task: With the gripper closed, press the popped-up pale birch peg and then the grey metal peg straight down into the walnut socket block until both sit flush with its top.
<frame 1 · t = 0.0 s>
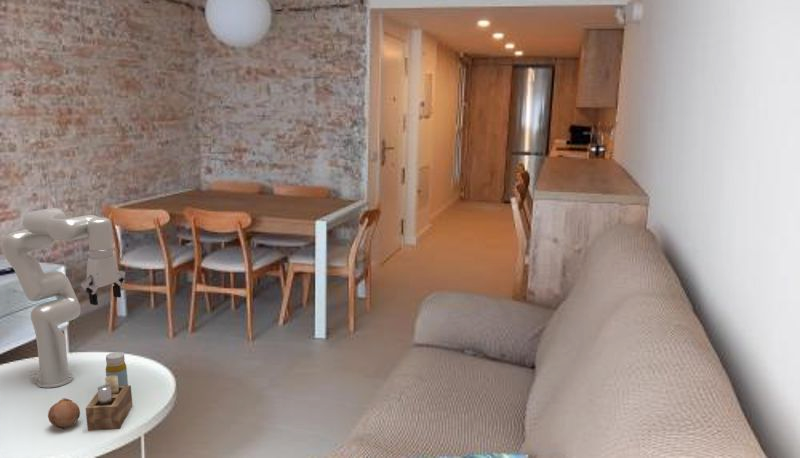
hand: (105, 300, 228), 37 cm above the table, tool pointing down, fingers open, 9 cm apart
peg birch: (112, 387, 223), point 9 cm above the table, slide at 5.0 cm
peg metal: (105, 398, 215), point 9 cm above the table, slide at 5.0 cm
onion: (65, 426, 215), on the table
socket block: (111, 418, 221), on the table
bottle: (118, 393, 239), on the table
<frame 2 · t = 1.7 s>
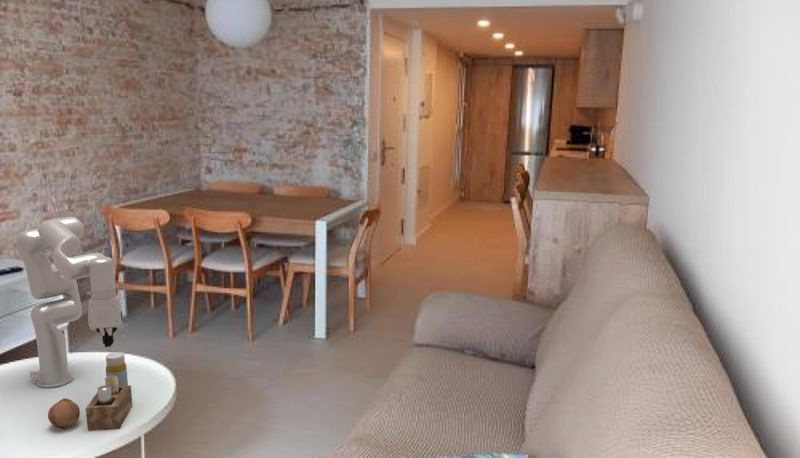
hand: (108, 345, 220), 25 cm above the table, tool pointing down, fingers closed
nothing on the table moved.
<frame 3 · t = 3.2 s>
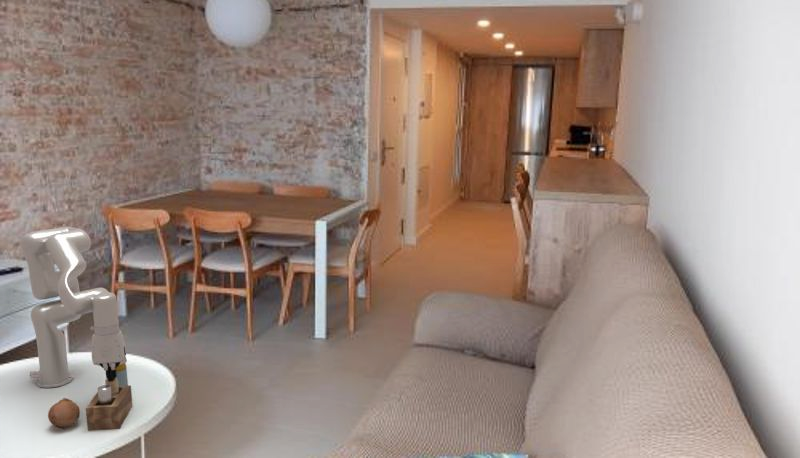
hand: (111, 379, 222), 12 cm above the table, tool pointing down, fingers closed
peg birch: (112, 389, 223), point 8 cm above the table, slide at 4.2 cm, touching gripper
everything else where it was.
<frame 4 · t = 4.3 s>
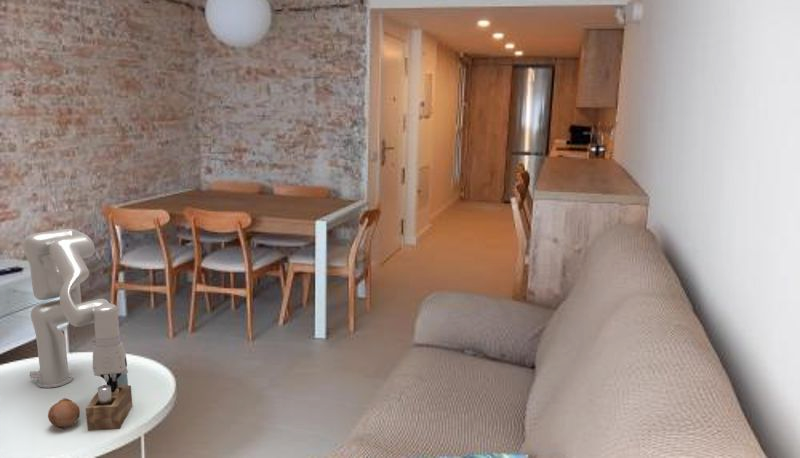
hand: (112, 390, 223), 8 cm above the table, tool pointing down, fingers closed
peg birch: (113, 400, 224), point 4 cm above the table, slide at 0.2 cm, touching gripper
everything else where it was.
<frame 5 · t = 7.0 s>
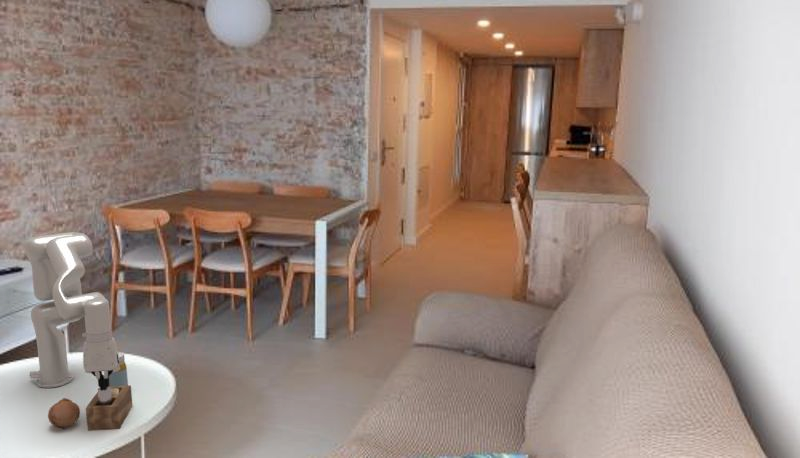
hand: (104, 388, 214), 13 cm above the table, tool pointing down, fingers closed
peg birch: (113, 400, 224), point 4 cm above the table, slide at 0.2 cm
peg metal: (105, 398, 215), point 9 cm above the table, slide at 4.8 cm, touching gripper
everything else where it was.
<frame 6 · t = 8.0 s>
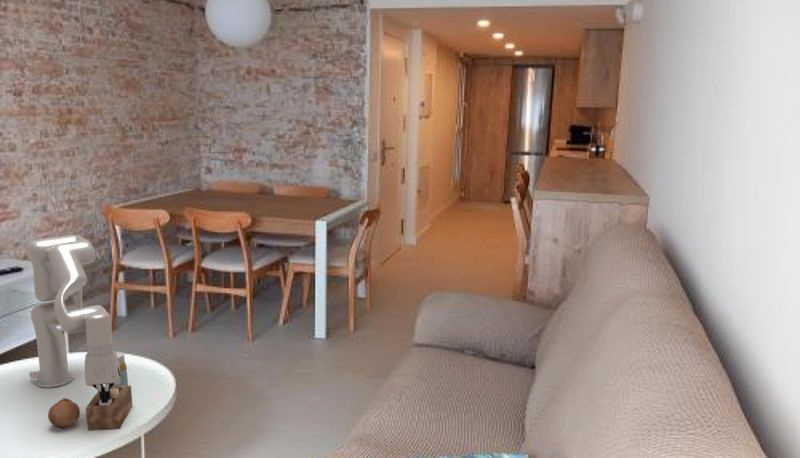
hand: (105, 400, 215), 8 cm above the table, tool pointing down, fingers closed
peg metal: (106, 411, 216), point 5 cm above the table, slide at 0.3 cm, touching gripper
everything else where it was.
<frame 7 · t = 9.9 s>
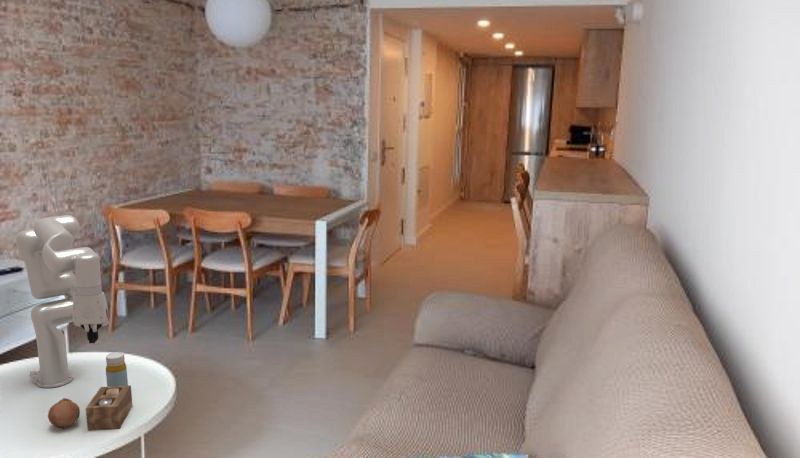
hand: (93, 341, 217), 27 cm above the table, tool pointing down, fingers closed
peg metal: (106, 411, 216), point 4 cm above the table, slide at 0.2 cm
everything else where it was.
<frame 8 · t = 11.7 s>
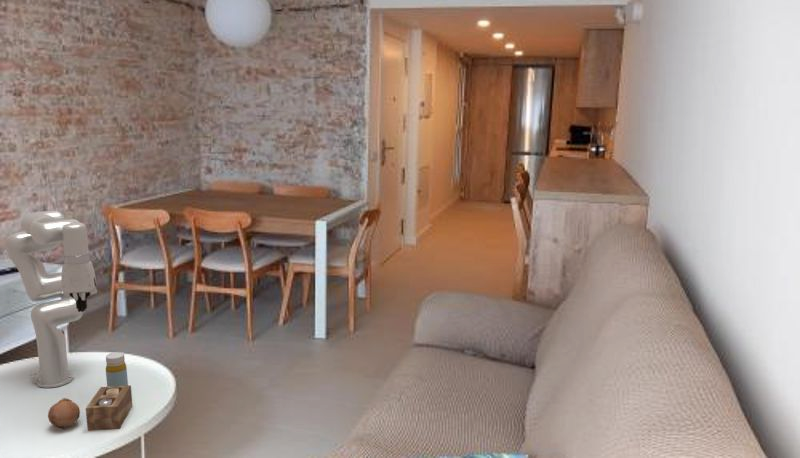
hand: (82, 310, 224), 35 cm above the table, tool pointing down, fingers closed
nothing on the table moved.
at the end: peg birch slide at 0.2 cm; peg metal slide at 0.2 cm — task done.
